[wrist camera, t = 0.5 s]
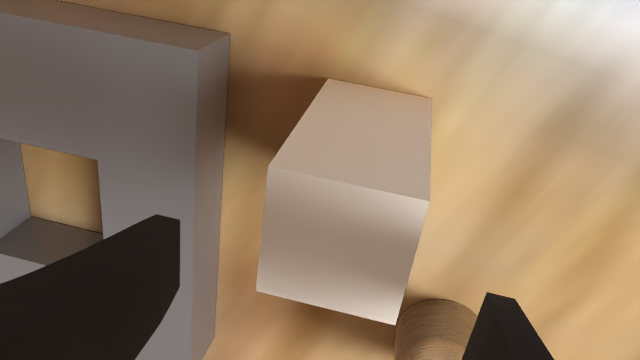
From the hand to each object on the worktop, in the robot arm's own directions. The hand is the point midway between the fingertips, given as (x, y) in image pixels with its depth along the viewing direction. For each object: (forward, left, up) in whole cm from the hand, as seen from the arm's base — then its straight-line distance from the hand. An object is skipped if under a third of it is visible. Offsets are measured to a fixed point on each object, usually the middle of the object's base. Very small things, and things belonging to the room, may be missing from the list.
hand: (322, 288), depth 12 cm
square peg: (0, 0, -10) cm, 10 cm away
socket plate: (-5, +13, -10) cm, 17 cm away
